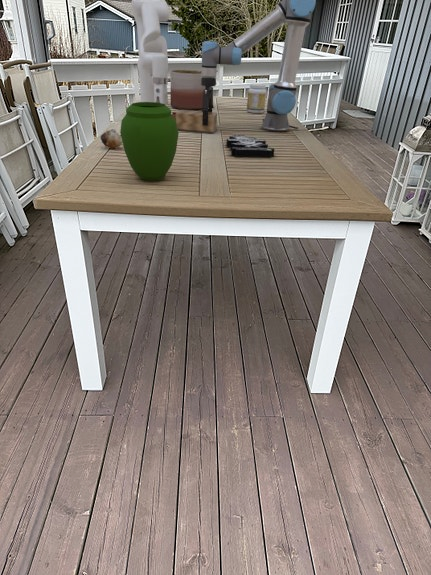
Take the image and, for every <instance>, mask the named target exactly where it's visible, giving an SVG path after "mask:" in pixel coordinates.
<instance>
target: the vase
mask: <svg viewBox="0 0 431 575" xmlns="http://www.w3.org/2000/svg"><path fill="white" fill-rule="evenodd" d="M125 113H126V114H125V115H124V117H122V119H121V122H120V123H121V124H120V130H119V133H120V134H119V135H120V136H121V138H122V142H123V143H122V147H123V150H124V154H125V155H126V158H127V160H128V163H129V165H130V167H131V168H132V170H133V172H134V173H135V175H136V176H137V177H138V178H139V179H141V180H143V181H145V182H159V181H161V180H163V179H164V178H165V176H166V175H167V174H168V173H169V170H170V169H171V167H172V165H173V162H174V159H175V157H176V156H175V155H176V153H177V147H178V140H179V131H178V128H177V123H176V120H175V119H174V118H173V116H172V115H171V114H172V109H171V108H170V107H169V106H167V105H165V104H162V103H156V102H141V101H138V102H132V103H131V104H130V105H128V107H127V108H125Z"/></svg>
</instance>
